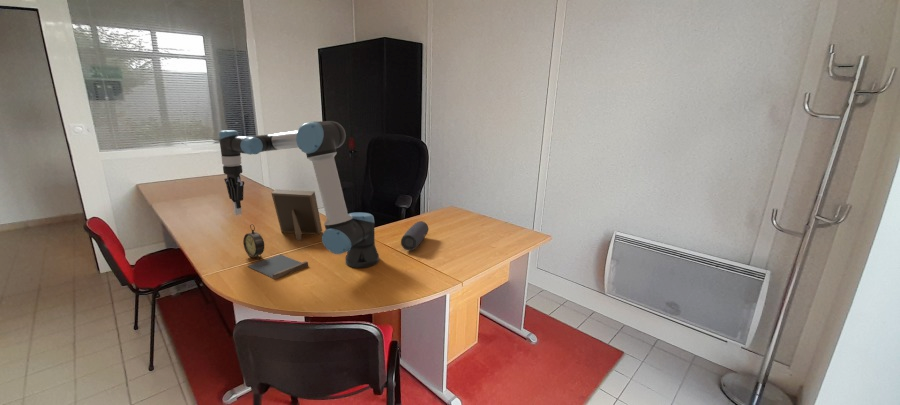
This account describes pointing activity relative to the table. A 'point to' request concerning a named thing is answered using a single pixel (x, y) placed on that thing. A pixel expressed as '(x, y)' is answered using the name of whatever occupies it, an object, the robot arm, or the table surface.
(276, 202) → the photo frame
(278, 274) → the stop strip
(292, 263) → the mat
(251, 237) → the alarm clock
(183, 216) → the table surface
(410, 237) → the bluetooth speaker
